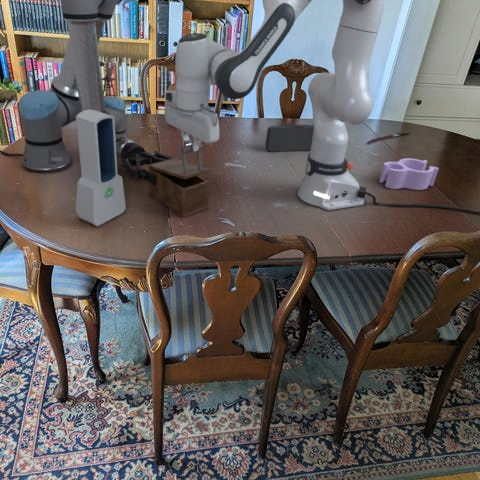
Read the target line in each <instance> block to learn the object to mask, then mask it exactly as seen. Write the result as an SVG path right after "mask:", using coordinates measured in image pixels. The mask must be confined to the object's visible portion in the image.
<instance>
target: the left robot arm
mask: <svg viewBox="0 0 480 480" xmlns="http://www.w3.org/2000/svg"><path fill="white" fill-rule="evenodd" d="M122 2H123V0H60V8H61V15H62V19H63V20H64V21H65V22H66V23H67V28H68V35H69V38H68V41H67V45H66V49H65V51H64V52H65V53H64V55H63V58H62V59H63V60H62V64H61V67H60V69H59V74H58V76H54V77H53V78H52V80H51V84H50V87H49V90H48V89H47V90H46V89H39V90H38V89H37V90H34V91H28V92H26V93H25V94H23V95H21V96H20V98H19V102H18V105H19V110H18V111H19V115H20V120H21V126H22V132H23V136H24V148H23V153H8V152H6V151H3V150H1V149H0V154H2V155H4V156H8V157H22V158H21V159H22V160H21V161H22V166H23V168H24V169H25V170H27V171H29V172H33V173H39V174H46V173H56V172H61V171H63V170H66V169H67V168H69V167H70V166H71V163H72V159H71V155H70V153H69V151H68V150H67V149H68V148H67V147H66V145H65V143H64V140H63V132H62V128H64V127H66V126H67V125H70V124H71V123H73V122H76V116H77V115H78V114H79V113H80V112H82V111H85V110H96V111H99V112H102V113H105V114H108V115H111V116H114V120H115V138H116V156H117V159H120V160H121V167H123V168H124V169H125V170H126V172H127V173H128V174H129V176H130V177H131V178H136V177H137V180H141V179H142V180H144V181H147V182H148V183H149V182H150V183H151V184H153V185H156V176H154V175H153V174H151V173H150V172H149V170H147V169H146V168H142V167H143V166H146V165H147V166H149V165H150V164H154V163H158V162H162V161H166V160H169V159H173V158H174V157H172V156H169V155H167V154H163V153H161V152H159V151H157V150H154V151H153V153H151V152H147V151H146V150H145V148H144V147H143V146H142V145H140V144H139V143H137V142H136V141H134V140H132V139H130V138H129V137H127V125H126V124H127V122H126V120H127V119H126V106H125V105H126V104H125V101H124V99H123V98H121V97H118V96H116V97H114V96H112V97H110V96H108V97H105V98H104V96H105V94H104V95H103V89H104V87H103V80H102V78H103V77H102V69H101V66H100V61H101V60H100V53H99V52H100V51H99V42H100V40H101V36H102V33H103V30H104V26H105V23H106V22H107V21H110V20H112V18H113V16H114V14H115V10H116V7H117V5H120V4H121V3H122ZM76 131H77V125H76Z"/></svg>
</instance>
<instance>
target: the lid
mask: <svg viewBox="0 0 480 480" xmlns="http://www.w3.org/2000/svg"><path fill="white" fill-rule="evenodd" d="M202 148H203V147H202V144H201V143H200V144H199V150H198V151H196V155H197V157H196V158H197V164H195V163H191V162H188V161H187V159H186V158H187V156H186V155H187V154H189V153H192V152H195V151H193V150H191V145H187V146H184V145H183V146H180V147H179V153H180V154H181V157H182V160H181V159H179V158H174V157H172V158H173V159H169V160H166V161H162V162H158V163H154V164H150V165H148V169H149V168H152V169H154V170H157V171H160V172H163V173H166V174H169V175H172V176H175V177H178V178H181V179H188V178H191V177H194V176H201V175H204V174H207V173H210V172H211V169H210V168H209V167H205V166H202V157H201V156H202V155H201V150H202Z"/></svg>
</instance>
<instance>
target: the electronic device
mask: <svg viewBox="0 0 480 480" xmlns="http://www.w3.org/2000/svg"><path fill="white" fill-rule="evenodd" d="M75 123H76V126H77V130H76V133H77V141H78V142H77V143H78V153H79V154H78V155H79V162H80V173H81V176H80V178H79V179H78V181H77V183H76V185H77V186H76V199H75V200H76V201H75V212H76V214H77V217H78V218H80V219H81V220H83V221H85V222H86V223H87V222H88V223H90V224H91V225H93V226H96V227H99V226H100V225H102V224H105V223H106V222H108V221H111V220H112V219H114V218H116V217H117V216H120V215H122V214H124V212H125V210H126V208H127V205H126V198H125V190H124V189H125V188H124V184H123V183H124V182H123V177H122V176H121V175H120V174H118V160H117V159H118V157H117V156H116V138H115V120H114V116H111V115H108V114H105V113H102V112H99V111H96V110H85V111H82V112H80V113H79V114H78V115H77V116H76V120H75Z"/></svg>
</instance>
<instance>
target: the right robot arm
mask: <svg viewBox="0 0 480 480" xmlns="http://www.w3.org/2000/svg"><path fill="white" fill-rule="evenodd" d="M312 1H313V0H262V7H263V10H264V11H263V12H264V17H263V21H262V24H261V25H260V27H259V28H258V30H257V31H256V32H255V33H254V35H253V36H252V38H251V39H250V40H249V42H248V43H247V44H246V46H245V47H244V48H243V49H242V50H241V51H240V52H236V51H234V50H233V49H231V48H229V47H226V46H223V45H221V44H219V43H217V42H216V41H215V40H213V39H212V38H211V37H209V36H208V35H207V34H206V33H203V32H199V33H198V32H194V33H188V34H185V35H183V36H182V37H180V38H179V40H178V42H177V45H176V49H175V50H176V51H175V64H174V65H175V69H174V70H175V71H174V72H175V75H176V82H175V86H174V87H175V88H174V89H171V90H168V91H164V93H163V98H164V100H165V101H164V120H165V122H166V124H168V125H169V126H171V127H173V128H176V129H177V130H180V135H181V139H182V145H183V146H187V145H191V150H193V151H194V152H197V151H198V150H199V144H201V142H203V143H205V144H207V145H212V144H215V143H217V142H218V141H219V140H220V121H219V117H218V114H217V112H216V111H215V108H214V107H210V106H209V98H210V96H209V95H210V86H216V88H218V90H219V92H220V93H221V94H222V95H223V96H224V97H226V98H228V99H231V100H239V99H243V98H246V97H247V96H248V95H250V93H251V92H252V91H253V90H254V88H255V86H256V84H257V82H258V79H259V76H260V74H261V72H262V70H263V69H264V67H265V65H266V64H267V63H268V61H269V60H270V59H271V57H272V56H273V55H274V53H275V52H276V51H277V49H278V48H279V46H281V44H282V43H283V41H284V40H285V38H286V37H287V36H288V34H289V33H290V31H291V29H293V27H294V24H295V22H296V21H297V19H298V18H299V17H300V15H301V14H302V13H303V12H304V10H305V9H306V8H307V7H308V6H309V5H310V4H311V2H312ZM384 4H385V0H342V12H341V15H340V18H339V22H338V27H337V30H336V34H335V38H334V42H333V45H332V50H331V58H332V61H333V65H334V72H320V73H318V74H316V75H314V76H313V78H311V80H310V81H309V84H308V87H307V93H308V97H309V100H310V103H311V108H312V125H313V138H312V144H311V150H309V153H308V155H307V159H306V163H305V172H304V176H303V179H302V182H301V185H300V186H299V189H298V191H297V197H299V199H300V200H302V201H303V202H305V203H307V204H309V205H312V206H316V207H319V208H321V209H324V210H326V211H334V210H340V209H341V210H342V209H346V208H352V207H358V206H363V205H364V204H365V196H366V195H367V196H369V197H371V198H372V203H373V204H374V205H377V206H383V207H421V208H423V207H425V208H438V209H447V210H448V209H449V210H456V211H461V212H466V213H473V214H478V215H480V211H479V210H474V209H469V208H462V207H456V206H449V205H442V204H426V203H379V202H378V201H376V200H377V199H376V196H375V195H373V194H372V193H371V192H368V191H367V188H368V187H365V186H360V184H359V182H358V180H357V178H355V176H354V175H353V174H352V173H351V172H349V171H352V170H354V168H355V167H354V164H353V163H352V162H349V161H348V160H347V159H346V158H345V156H346V152H347V147H348V143H349V133H348V131H347V127H346V124H347V125H353V126H357V125H360V124H362V123H364V122H365V121H366V120H368V119H369V117H370V116H371V114H372V111H373V108H374V100H373V97H372V95H371V91H370V81H369V80H370V79H369V78H370V65H371V58H372V55H373V52H374V48H375V43H376V40H377V37H378V33H379V31H380V26H381V22H382V18H383V14H384V13H383V12H384V6H385V5H384ZM190 136H192V140H193V143H192V140H191V139H190Z"/></svg>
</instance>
